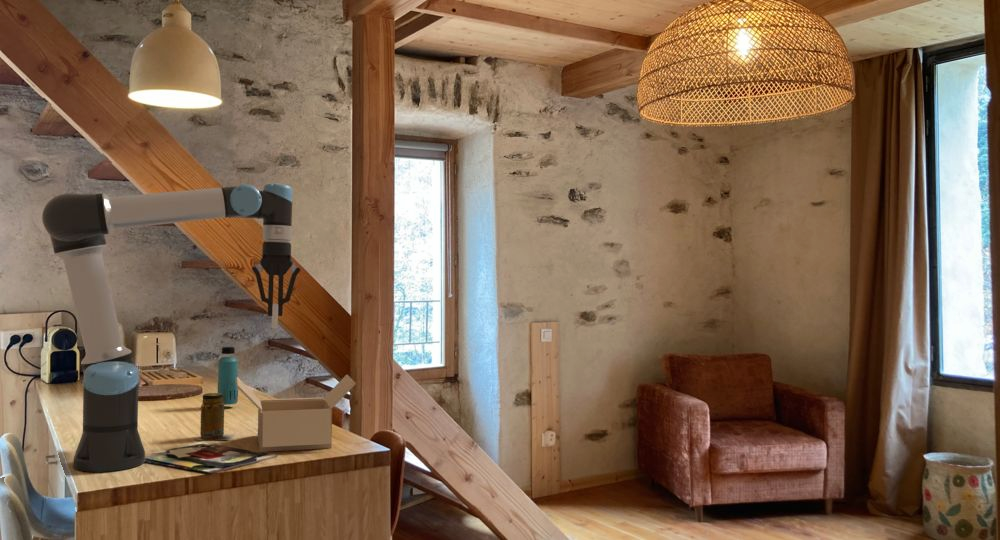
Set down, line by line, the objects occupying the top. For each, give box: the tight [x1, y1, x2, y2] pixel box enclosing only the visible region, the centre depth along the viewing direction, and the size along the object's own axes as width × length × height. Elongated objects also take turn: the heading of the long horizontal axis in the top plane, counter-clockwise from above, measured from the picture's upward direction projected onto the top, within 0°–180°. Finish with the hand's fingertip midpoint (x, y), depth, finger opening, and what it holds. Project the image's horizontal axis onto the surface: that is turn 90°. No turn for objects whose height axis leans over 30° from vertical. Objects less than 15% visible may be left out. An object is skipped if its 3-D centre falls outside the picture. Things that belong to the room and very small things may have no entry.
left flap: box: [236, 376, 262, 411], centre depth 206 cm, size 1×15×9 cm
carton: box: [257, 398, 333, 453], centre depth 210 cm, size 18×16×10 cm
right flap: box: [323, 374, 357, 410], centre depth 214 cm, size 1×15×9 cm
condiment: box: [195, 392, 234, 442], centre depth 214 cm, size 7×8×12 cm
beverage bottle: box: [217, 346, 239, 406], centre depth 257 cm, size 6×7×20 cm
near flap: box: [262, 409, 331, 447], centre depth 200 cm, size 17×1×9 cm, turn 109°
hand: (274, 328), depth 212 cm, fingers closed
